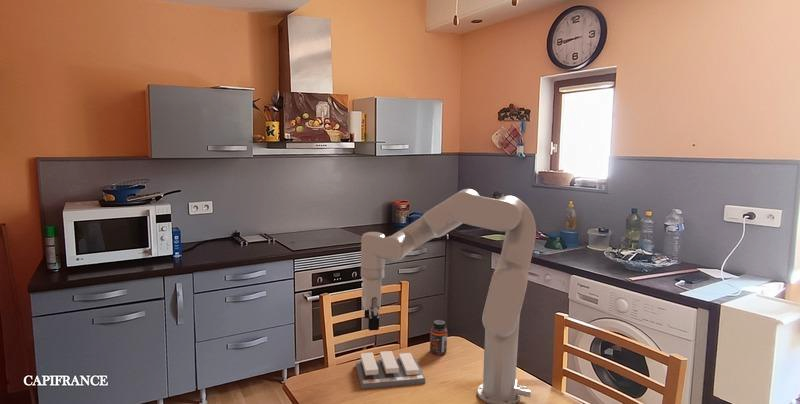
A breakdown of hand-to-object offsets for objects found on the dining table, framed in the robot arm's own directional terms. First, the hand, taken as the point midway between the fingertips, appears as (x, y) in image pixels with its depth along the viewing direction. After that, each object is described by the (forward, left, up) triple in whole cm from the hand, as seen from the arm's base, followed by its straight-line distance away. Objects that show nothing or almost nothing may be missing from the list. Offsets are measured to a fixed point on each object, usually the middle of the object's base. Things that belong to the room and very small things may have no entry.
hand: (371, 323), depth 157 cm
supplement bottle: (-17, -23, -17) cm, 33 cm away
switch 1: (0, +1, -14) cm, 14 cm away
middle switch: (-5, -3, -14) cm, 15 cm away
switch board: (-6, -2, -17) cm, 18 cm away
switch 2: (-11, -6, -15) cm, 20 cm away
